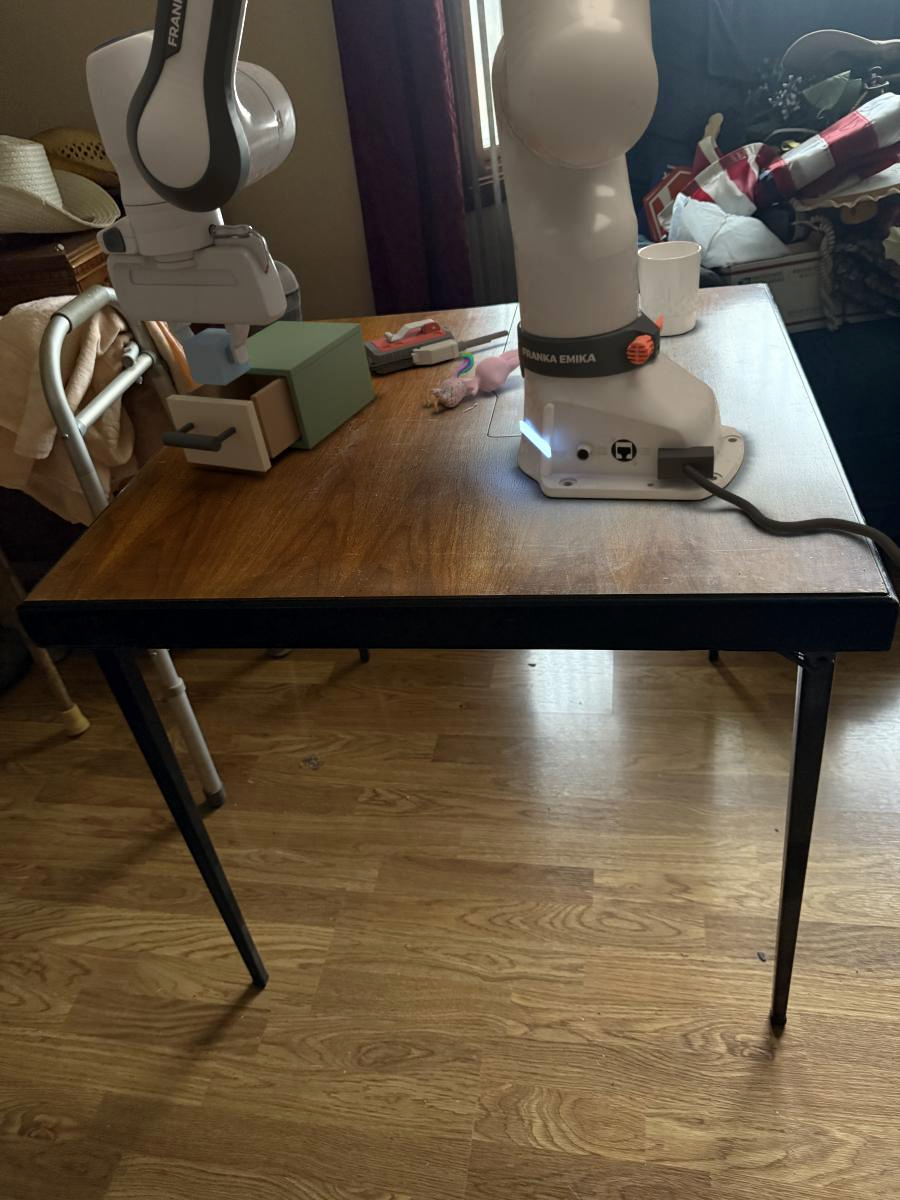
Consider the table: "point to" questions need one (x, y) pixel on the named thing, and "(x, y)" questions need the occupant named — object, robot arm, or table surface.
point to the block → (211, 358)
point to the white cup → (670, 284)
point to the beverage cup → (288, 294)
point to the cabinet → (315, 372)
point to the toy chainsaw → (418, 346)
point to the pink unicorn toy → (486, 376)
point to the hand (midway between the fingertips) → (218, 361)
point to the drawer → (234, 422)
